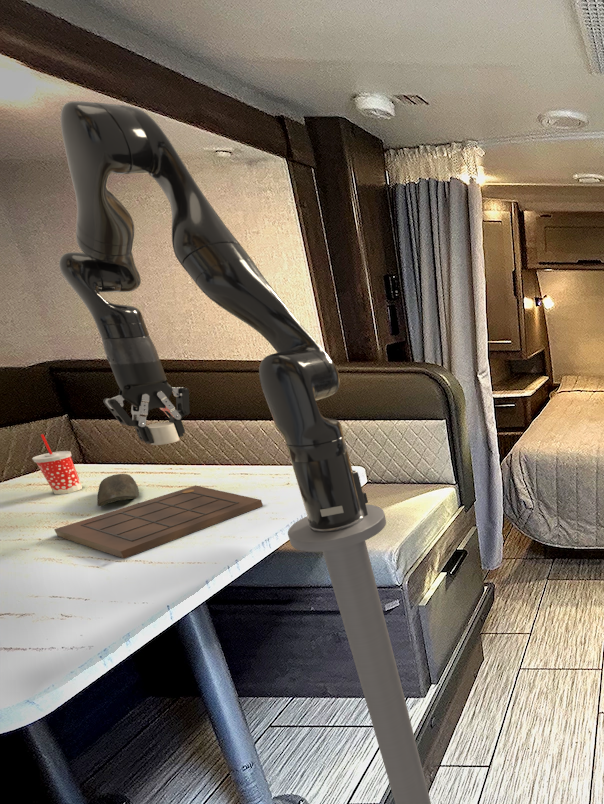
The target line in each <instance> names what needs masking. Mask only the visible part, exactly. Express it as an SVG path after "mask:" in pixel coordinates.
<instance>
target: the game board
mask: <svg viewBox="0 0 604 804" xmlns="http://www.w3.org/2000/svg"><path fill="white" fill-rule="evenodd" d="M261 507H264V505H263V501H262V499H259V498H255V497H249V496H245V495H241V494H237V493H232V492H228V491H223V490H218V489H215V488H209V487H205V486H201V485H191V486H189V487H186V488H182V489H179V490H176V491H173V492H170V493H166V494H164V495H160V496H157V497H153V498H149V499H146V500H144V501H141V502H138V503H135V504H131V505H128V506H124V507H122V508H121V507H120V508H119V509H114V510H112V511H111V510H110V511H108V512H105V513H102V514H99V515H96V516H92V517H89V518H86V519H83V520H79V521H76V522H73V523H70V524H66V525H63V526H60V527H56V528H54V532H55V533H56V536H57V537H59V538H63V539H65V540H68V541H70V542H74V543H77V544H81V545H82V546H85V547H89V548H90V549H95V550H98V551H100V552H104V553H106V554H109V555H112V556H115V557H118V558H121V559H124V560H125V559H128V558H129V557H132V556H135V555H137V554H140V553H144V552H145V551H148V550H150V549H153V548H156V547H159V546H161V545H165V544H167V543H169V542H172V541H174V540H178V539H180V538H183V537H185V536H187V535H190V534H193V533H196V532H199V531H201V530H204V529H206V528H209V527H212V526H214V525H217V524H219V523H222V522H224V521H227V520H230V519H233V518H235V517H238V516H241V515H242V514H243V515H244V514H246V513H248V512H251V511H254V510H256V509H259V508H261Z"/></svg>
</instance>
